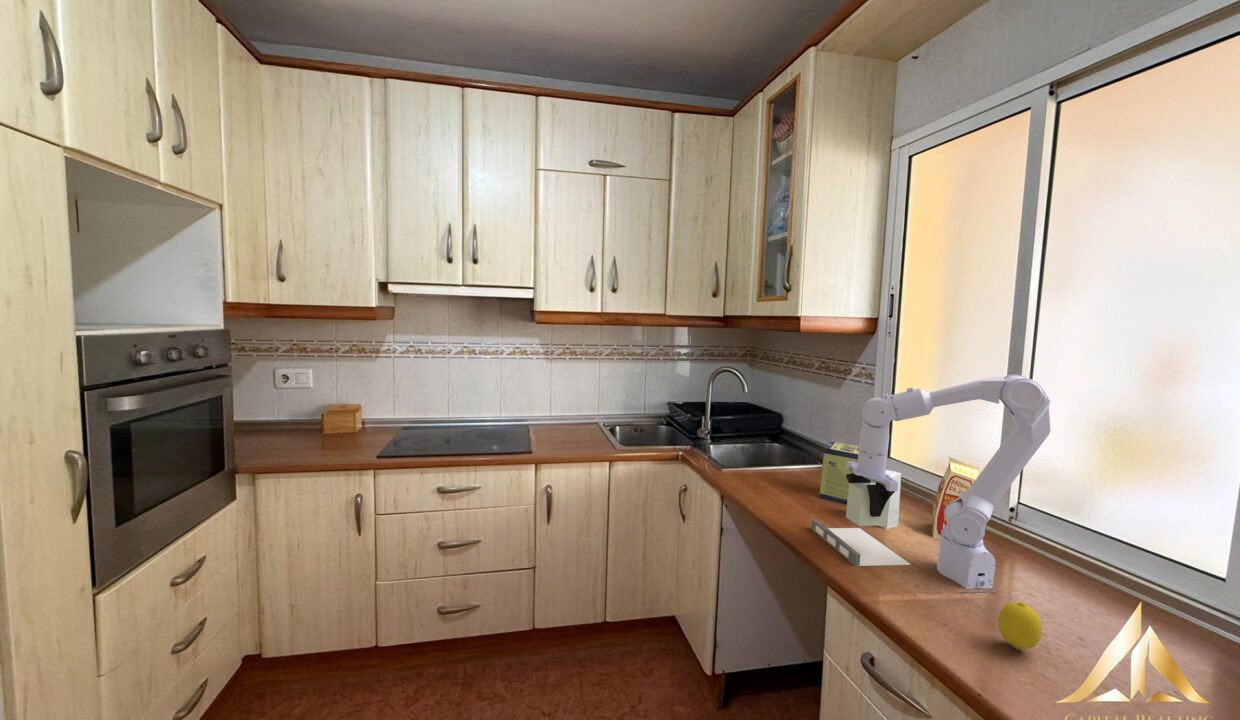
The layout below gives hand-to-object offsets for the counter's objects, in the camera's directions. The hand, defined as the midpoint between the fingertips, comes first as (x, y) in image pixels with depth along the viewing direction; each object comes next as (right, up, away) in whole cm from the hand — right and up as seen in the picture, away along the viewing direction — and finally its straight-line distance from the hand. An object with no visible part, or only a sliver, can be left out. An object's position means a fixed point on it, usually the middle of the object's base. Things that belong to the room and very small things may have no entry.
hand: (866, 510), depth 111 cm
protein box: (+13, -8, +36) cm, 39 cm away
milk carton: (+29, -11, +14) cm, 34 cm away
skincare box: (+11, -9, +18) cm, 23 cm away
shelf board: (-1, -10, +3) cm, 10 cm away
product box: (0, -2, 0) cm, 2 cm away
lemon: (+10, -14, -30) cm, 34 cm away
